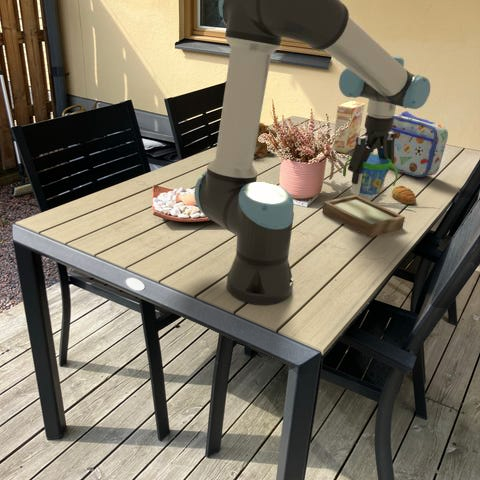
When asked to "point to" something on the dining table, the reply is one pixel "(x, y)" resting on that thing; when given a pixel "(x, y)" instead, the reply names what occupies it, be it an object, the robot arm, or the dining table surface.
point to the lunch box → (417, 145)
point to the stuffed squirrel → (262, 147)
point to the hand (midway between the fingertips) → (366, 190)
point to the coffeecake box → (349, 135)
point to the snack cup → (374, 174)
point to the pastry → (404, 195)
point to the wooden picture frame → (363, 215)
